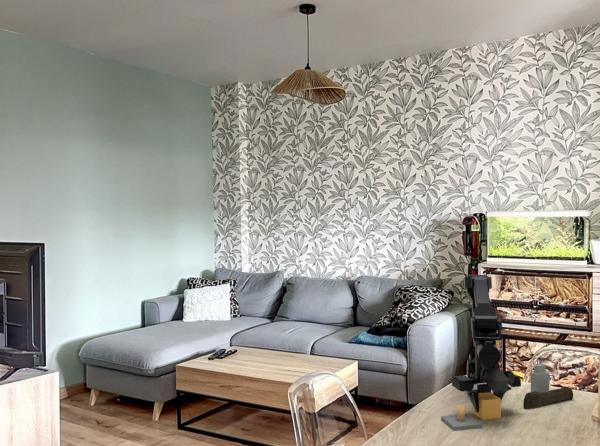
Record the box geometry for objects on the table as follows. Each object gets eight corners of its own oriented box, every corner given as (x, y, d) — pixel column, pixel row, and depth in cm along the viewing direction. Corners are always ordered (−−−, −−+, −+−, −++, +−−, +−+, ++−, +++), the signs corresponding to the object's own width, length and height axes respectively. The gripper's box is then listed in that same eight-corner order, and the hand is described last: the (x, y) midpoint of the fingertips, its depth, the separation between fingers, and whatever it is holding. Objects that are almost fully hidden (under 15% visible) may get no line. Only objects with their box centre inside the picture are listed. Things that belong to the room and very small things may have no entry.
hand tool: (563, 397, 174) (563, 382, 174) (574, 401, 171) (573, 386, 171) (516, 407, 167) (516, 391, 167) (527, 411, 163) (526, 395, 163)
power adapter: (529, 394, 177) (529, 356, 177) (543, 392, 179) (542, 354, 179) (537, 397, 174) (536, 359, 174) (550, 395, 176) (550, 357, 176)
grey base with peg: (441, 419, 158) (440, 402, 157) (467, 417, 159) (467, 399, 159) (453, 430, 150) (453, 412, 150) (481, 427, 151) (481, 409, 151)
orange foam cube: (472, 412, 162) (472, 393, 162) (490, 411, 163) (490, 392, 163) (482, 419, 157) (482, 400, 157) (500, 417, 158) (500, 398, 158)
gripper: (469, 367, 150) (470, 424, 151) (532, 362, 154) (532, 418, 154) (450, 356, 161) (451, 410, 161) (509, 352, 165) (510, 404, 165)
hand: (486, 411), depth 160 cm, fingers closed on orange foam cube, 6 cm apart
